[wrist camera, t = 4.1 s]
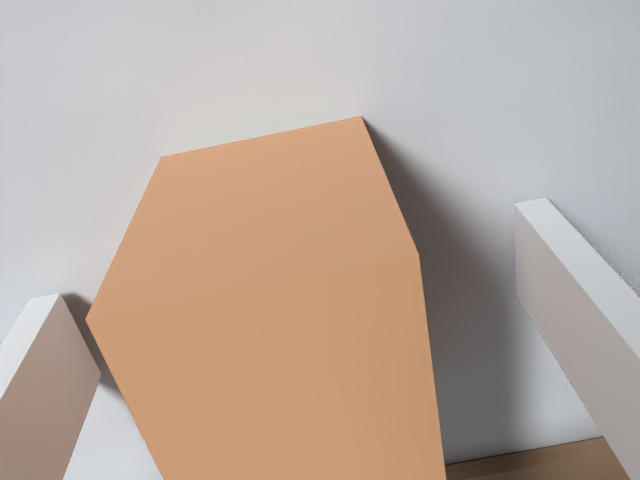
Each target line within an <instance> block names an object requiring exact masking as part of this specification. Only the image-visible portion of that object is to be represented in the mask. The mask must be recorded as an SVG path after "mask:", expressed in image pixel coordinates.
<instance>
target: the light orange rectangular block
mask: <svg viewBox="0 0 640 480" xmlns="http://www.w3.org/2000/svg"><path fill="white" fill-rule="evenodd" d="M85 320H86V322H87V324H88V326H89V329H90V331H91V333H92V335H93V337H94V339H95V341H96V343H97V345H98V347H99V349H100V351H101V353H102V355H103V357H104V359H105V361H106V363H107V365H108V367H109V369H110V371H111V373H112V375H113V377H114V379H115V381H116V383H117V385H118V388H119V390H120V392H121V394H122V396H123V398H124V400H125V402H126V404H127V406H128V408H129V410H130V412H131V414H132V416H133V418H134V420H135V422H136V424H137V426H138V428H139V430H140V432H141V434H142V436H143V438H144V440H145V442H146V444H147V447H148V449H149V451H150V453H151V455H152V457H153V459H154V461H155V463H156V465H157V467H158V469H159V471H160V473H161V475H162V477H163V479H164V480H446V473H445V464H444V456H443V448H442V440H441V432H440V423H439V415H438V407H437V399H436V391H435V382H434V374H433V366H432V358H431V349H430V341H429V333H428V325H427V317H426V308H425V300H424V292H423V284H422V276H421V267H420V259H419V253H418V251H417V249H416V246H415V244H414V241H413V239H412V237H411V234H410V232H409V229H408V227H407V225H406V222H405V220H404V217H403V215H402V213H401V210H400V208H399V205H398V203H397V201H396V198H395V196H394V193H393V191H392V189H391V186H390V184H389V181H388V179H387V177H386V174H385V172H384V169H383V167H382V165H381V162H380V160H379V157H378V155H377V153H376V150H375V148H374V145H373V143H372V141H371V138H370V136H369V133H368V131H367V129H366V126H365V124H364V121H363V119H362V117H361V116H359V117H354V118H349V119H345V120H340V121H335V122H330V123H325V124H320V125H315V126H310V127H306V128H301V129H296V130H291V131H286V132H281V133H276V134H271V135H267V136H262V137H257V138H252V139H247V140H242V141H237V142H232V143H228V144H223V145H218V146H213V147H208V148H203V149H198V150H193V151H189V152H184V153H179V154H174V155H169V156H164V157H161V159H160V161H159V163H158V165H157V167H156V169H155V171H154V174H153V176H152V178H151V180H150V182H149V184H148V186H147V188H146V191H145V193H144V195H143V197H142V199H141V201H140V203H139V206H138V208H137V210H136V212H135V214H134V216H133V218H132V221H131V223H130V225H129V227H128V229H127V231H126V233H125V235H124V238H123V240H122V242H121V244H120V246H119V248H118V250H117V253H116V255H115V257H114V259H113V261H112V263H111V265H110V268H109V270H108V272H107V274H106V276H105V278H104V280H103V282H102V285H101V287H100V289H99V291H98V293H97V295H96V297H95V300H94V302H93V304H92V306H91V308H90V310H89V312H88V315H87V317H86V319H85Z"/></svg>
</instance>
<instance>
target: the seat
mask: <svg viewBox="0 0 640 480" xmlns="http://www.w3.org/2000/svg"><path fill="white" fill-rule="evenodd" d="M445 473H446V480H630V478H629V476H628V475H627V473H626V471H625V470H624V468H623V467H622V465H621V463H620V462H619V460H618V459H617V457H616V455H615V454H614V452H613V451H612V449H611V447H610V446H609V444H608V443H607V441H606V439H605V438H604V437H601V438H595V439H590V440H584V441H579V442H573V443H568V444H562V445H557V446H551V447H546V448H540V449H535V450H529V451H524V452H518V453H513V454H507V455H502V456H496V457H491V458H485V459H480V460H474V461H469V462H463V463H458V464H452V465H447V466H445Z"/></svg>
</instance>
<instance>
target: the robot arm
mask: <svg viewBox="0 0 640 480" xmlns="http://www.w3.org/2000/svg"><path fill="white" fill-rule="evenodd" d="M514 218H515V265H516V296H517V298H518V299H519V301H520V303H521V304H522V306H523V307H524V309H525V311H526V312H527V314H528V315H529V317H530V319H531V320H532V322H533V323H534V325H535V327H536V328H537V330H538V332H539V333H540V335H541V336H542V338H543V340H544V341H545V343H546V344H547V346H548V348H549V349H550V351H551V352H552V354H553V356H554V357H555V359H556V360H557V362H558V364H559V365H560V367H561V369H562V370H563V372H564V373H565V375H566V377H567V378H568V380H569V381H570V383H571V385H572V386H573V388H574V389H575V391H576V393H577V394H578V396H579V397H580V399H581V401H582V402H583V404H584V406H585V407H586V409H587V410H588V412H589V414H590V415H591V417H592V418H593V420H594V422H595V423H596V425H597V426H598V428H599V430H600V431H601V433H602V434H603V436H604V438H605V439H606V441H607V443H608V444H609V446H610V447H611V449H612V451H613V452H614V454H615V455H616V457H617V459H618V460H619V462H620V463H621V465H622V467H623V468H624V470H625V471H626V473H627V475H628V476H629V478H630V480H640V297H639V296H638V295H637V294H636V293H635V292H634V291H633V290H632V289H631V288H630V287H629V286H628V284H627V283H626V282H625V281H624V280H623V279H622V278H621V277H620V276H619V275H618V274H617V273H616V272H615V271H614V270H613V268H612V267H611V266H610V265H609V264H608V263H607V262H606V261H605V260H604V259H603V258H602V257H601V256H600V255H599V254H598V252H597V251H596V250H595V249H594V248H593V247H592V246H591V245H590V244H589V243H588V242H587V241H586V240H585V239H584V238H583V236H582V235H581V234H580V233H579V232H578V231H577V230H576V229H575V228H574V227H573V226H572V225H571V224H570V223H569V221H568V220H567V219H566V218H565V217H564V216H563V215H562V214H561V213H560V212H559V211H558V210H557V209H556V208H555V207H554V205H553V204H552V203H551V202H550V201H549V200H548V199H547V198H546V197H545V198H540V199H535V200H530V201H525V202H520V203H515V204H514ZM100 378H101V373H100V371H99V369H98V367H97V365H96V363H95V361H94V359H93V357H92V355H91V353H90V351H89V349H88V347H87V345H86V343H85V341H84V339H83V337H82V335H81V333H80V331H79V329H78V327H77V325H76V323H75V321H74V319H73V317H72V315H71V313H70V311H69V309H68V307H67V305H66V303H65V301H64V299H63V297H62V295H61V293H57V294H51V295H46V296H41V297H36V298H31V299H30V300H29V302H28V303H27V305H26V306H25V308H24V310H23V311H22V313H21V314H20V316H19V317H18V319H17V321H16V322H15V324H14V325H13V327H12V329H11V330H10V332H9V333H8V335H7V337H6V338H5V340H4V341H3V343H2V345H1V346H0V480H63V477H64V474H65V472H66V469H67V466H68V464H69V461H70V458H71V456H72V453H73V450H74V448H75V445H76V442H77V439H78V437H79V434H80V431H81V429H82V426H83V423H84V421H85V418H86V415H87V413H88V410H89V407H90V405H91V402H92V399H93V397H94V394H95V391H96V388H97V386H98V383H99V380H100Z"/></svg>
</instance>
